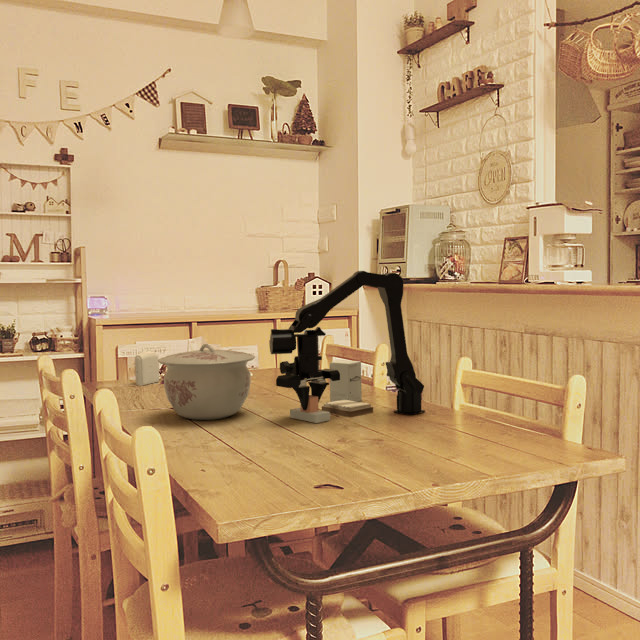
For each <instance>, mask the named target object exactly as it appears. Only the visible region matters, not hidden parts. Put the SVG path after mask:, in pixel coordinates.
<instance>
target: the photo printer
mask: <svg viewBox="0 0 640 640" xmlns="http://www.w3.org/2000/svg"><path fill="white" fill-rule="evenodd" d="M158 360H159V354H158V353H157V352H156V351H149V350H145V351H141V352H139V353H137V354H136V355H135V356H134V371H135V384H136V386H139V387H140V386H142V387H143V386H146V385H150V384H155V383H159V382H160V363H159V362H158Z"/></svg>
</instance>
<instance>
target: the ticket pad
mask: <svg viewBox="0 0 640 640" xmlns="http://www.w3.org/2000/svg"><path fill="white" fill-rule="evenodd" d="M321 411H326V412H330V414H333V415H338V416H343V417H346V418H347V417H348V418H354V417H357V416H363V415H367V414H372V413H374V407H373V406H372V404H371V403H365V402H362V401H358V402H356V401H350V400H339V401H334V402H330V401H329V402H324V403H323V405H321Z"/></svg>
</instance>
